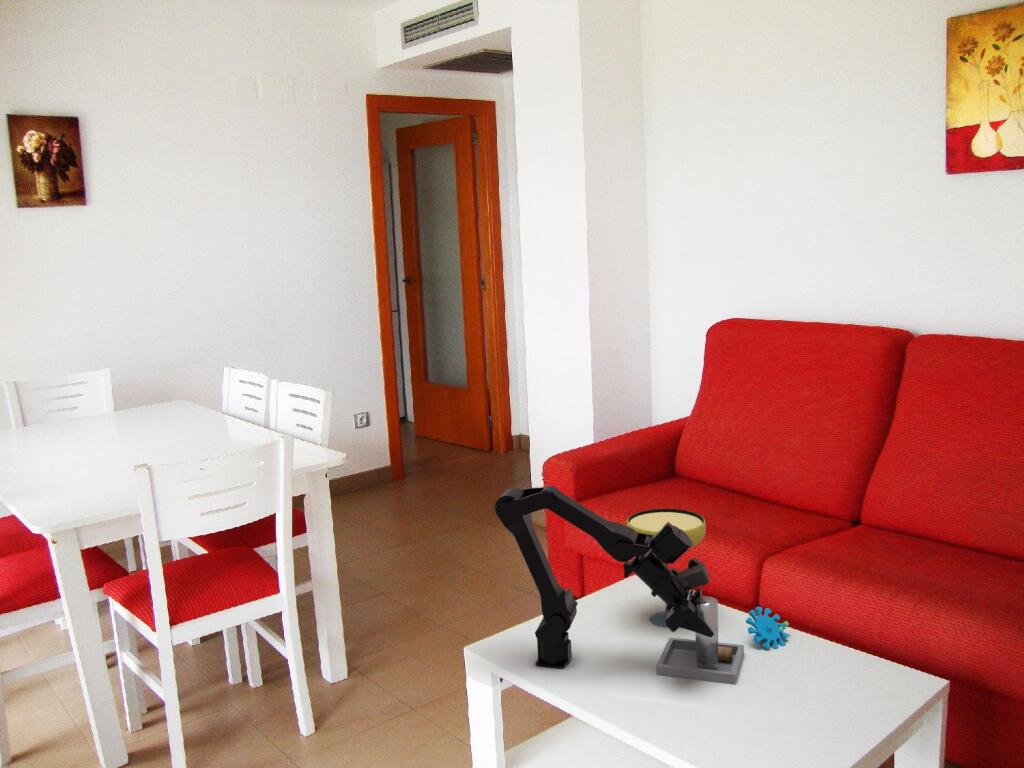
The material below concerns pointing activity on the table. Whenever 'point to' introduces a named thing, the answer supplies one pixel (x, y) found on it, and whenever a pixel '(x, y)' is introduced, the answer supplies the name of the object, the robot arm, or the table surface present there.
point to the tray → (683, 663)
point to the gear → (767, 628)
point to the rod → (725, 654)
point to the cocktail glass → (654, 523)
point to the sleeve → (709, 613)
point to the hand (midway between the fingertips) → (713, 630)
